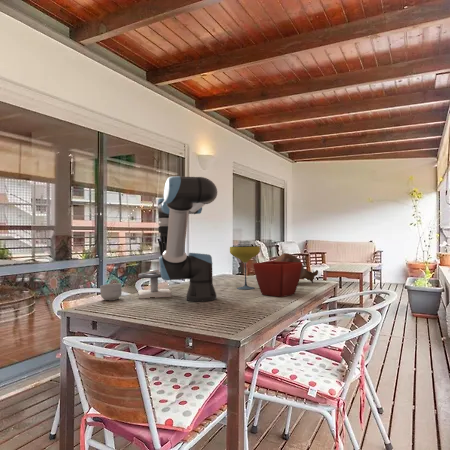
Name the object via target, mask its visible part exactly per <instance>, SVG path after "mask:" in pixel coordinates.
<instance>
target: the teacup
mask: <svg viewBox="0 0 450 450" xmlns="http://www.w3.org/2000/svg"><path fill="white" fill-rule="evenodd" d="M99 290H100V297H101V299H103V300H104V301H106V300H109V301H115V299H116V300H118V299H119V298H121V296H122V290H123V289H122V283H120V282H118V283H107V284H103V285H100V286H99Z"/></svg>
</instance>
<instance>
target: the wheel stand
mask: <svg viewBox="0 0 450 450" xmlns="http://www.w3.org/2000/svg"><path fill="white" fill-rule="evenodd" d="M149 279H150V289H143V290H142V289H141V290H138V294H139V295H138V299H151V298H150V297H155V298H167V297H168V298H172V291H171V290H170V289H169V288H160V289H159V278H149Z"/></svg>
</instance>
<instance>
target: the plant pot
mask: <svg viewBox="0 0 450 450" xmlns="http://www.w3.org/2000/svg"><path fill="white" fill-rule="evenodd" d="M302 264H303V262H302V261H301V262H280V261H275V260H272V261H264V262H262V261H261V262H254V263H253V270H254V273H255V274H254V276H255V279H256V282H257V284H258V287H259V290H260V292H261V295H263V296H271V297H279V298H282V297H287V296H293V295H295V294H296V291H297V289H298V288H297V287H298V284H299V283H300V280H299V278H300V274H301V268H302Z"/></svg>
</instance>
